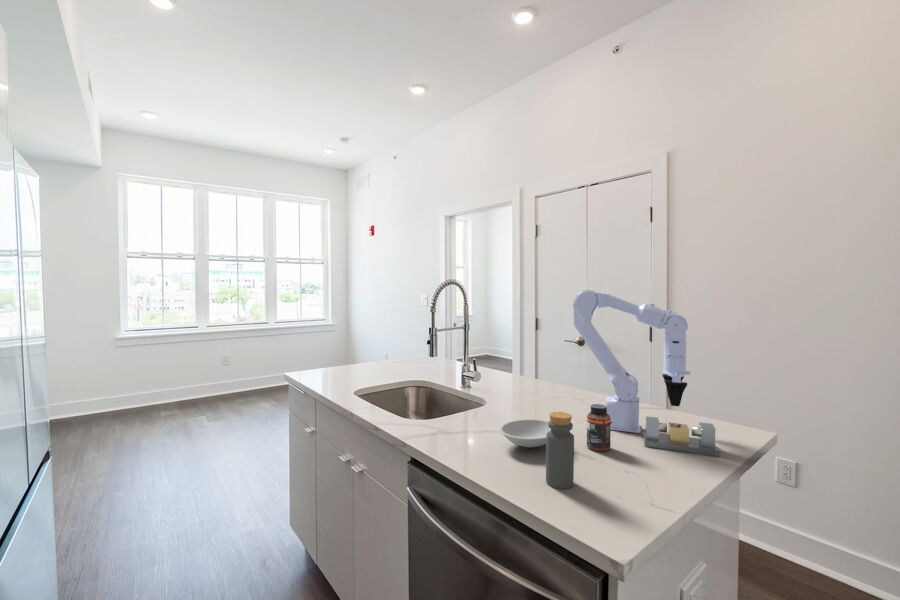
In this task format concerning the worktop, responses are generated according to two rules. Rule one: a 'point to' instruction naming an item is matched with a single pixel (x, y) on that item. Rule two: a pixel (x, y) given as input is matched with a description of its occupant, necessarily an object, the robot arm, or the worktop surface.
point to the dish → (526, 432)
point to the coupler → (678, 433)
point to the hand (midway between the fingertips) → (673, 402)
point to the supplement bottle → (598, 428)
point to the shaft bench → (696, 445)
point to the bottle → (560, 451)
